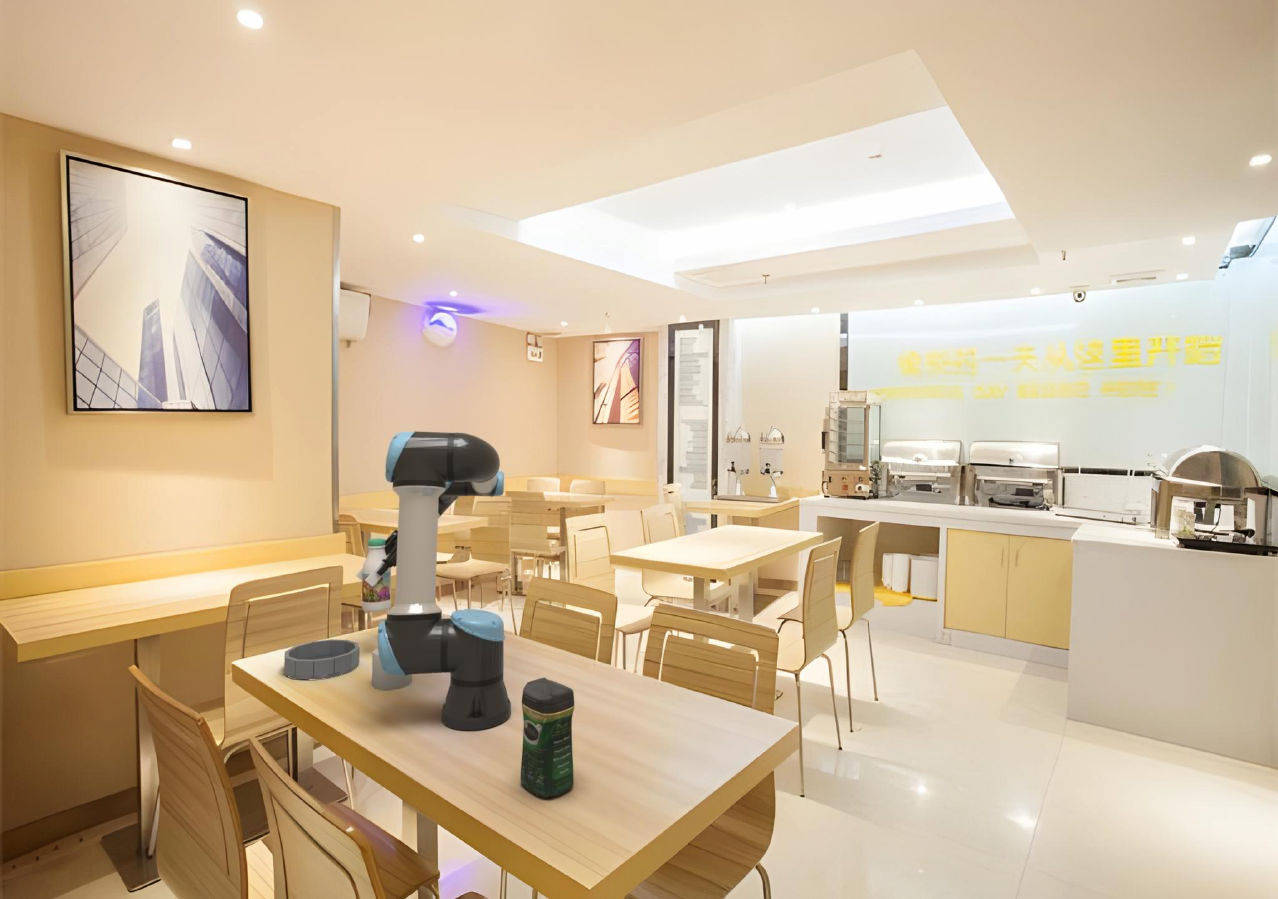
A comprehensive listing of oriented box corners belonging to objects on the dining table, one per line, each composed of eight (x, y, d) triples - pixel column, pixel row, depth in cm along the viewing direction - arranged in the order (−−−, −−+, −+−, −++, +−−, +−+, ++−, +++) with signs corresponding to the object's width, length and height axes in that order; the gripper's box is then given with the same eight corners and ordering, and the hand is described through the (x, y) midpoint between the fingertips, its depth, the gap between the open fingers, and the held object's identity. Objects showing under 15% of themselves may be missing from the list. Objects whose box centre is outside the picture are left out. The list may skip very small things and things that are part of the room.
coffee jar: (581, 787, 115) (582, 684, 115) (545, 804, 109) (547, 696, 109) (548, 767, 122) (549, 670, 122) (513, 783, 116) (514, 681, 116)
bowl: (372, 665, 176) (372, 647, 176) (309, 685, 161) (310, 665, 161) (333, 653, 186) (333, 635, 185) (270, 671, 170) (270, 652, 170)
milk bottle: (364, 606, 185) (364, 538, 185) (392, 605, 188) (392, 537, 187) (360, 613, 178) (360, 542, 178) (389, 611, 180) (389, 540, 180)
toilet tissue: (398, 670, 173) (399, 638, 172) (416, 685, 162) (417, 651, 162) (363, 677, 167) (364, 644, 167) (379, 693, 156) (380, 658, 156)
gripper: (443, 531, 185) (386, 595, 174) (416, 524, 200) (362, 582, 190) (425, 514, 181) (365, 578, 171) (399, 508, 197) (343, 567, 186)
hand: (364, 580), depth 180 cm, fingers closed on milk bottle, 7 cm apart
